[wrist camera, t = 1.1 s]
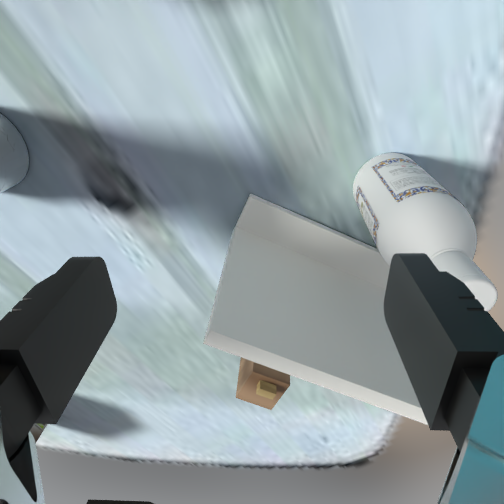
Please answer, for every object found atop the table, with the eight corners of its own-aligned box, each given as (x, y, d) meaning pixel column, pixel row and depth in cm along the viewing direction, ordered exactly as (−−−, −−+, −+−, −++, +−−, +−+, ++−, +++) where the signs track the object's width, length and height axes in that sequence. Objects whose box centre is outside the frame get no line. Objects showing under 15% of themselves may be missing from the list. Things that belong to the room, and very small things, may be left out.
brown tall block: (272, 348, 51) (270, 419, 42) (243, 337, 50) (234, 406, 41) (288, 324, 49) (290, 394, 39) (257, 312, 48) (251, 380, 38)
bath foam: (388, 224, 40) (467, 360, 23) (338, 193, 39) (384, 313, 22) (434, 174, 37) (567, 288, 20) (381, 138, 36) (476, 227, 18)
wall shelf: (350, 328, 48) (383, 463, 33) (213, 274, 45) (177, 394, 30) (404, 260, 42) (475, 385, 27) (250, 193, 39) (230, 290, 24)
